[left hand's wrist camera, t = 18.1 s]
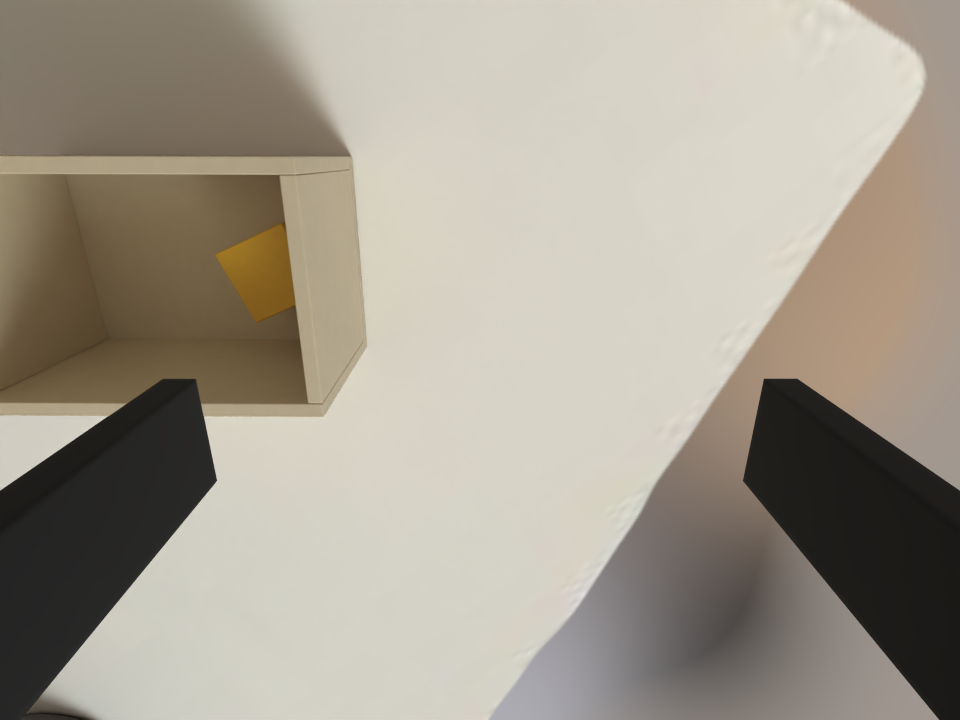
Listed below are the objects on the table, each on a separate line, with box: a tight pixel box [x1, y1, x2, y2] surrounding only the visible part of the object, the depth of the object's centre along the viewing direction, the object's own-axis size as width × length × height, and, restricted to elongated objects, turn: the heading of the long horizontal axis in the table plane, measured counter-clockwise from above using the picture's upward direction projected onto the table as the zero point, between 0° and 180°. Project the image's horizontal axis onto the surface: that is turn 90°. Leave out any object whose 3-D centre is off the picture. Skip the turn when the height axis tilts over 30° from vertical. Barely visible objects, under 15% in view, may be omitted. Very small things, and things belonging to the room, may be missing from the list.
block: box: [215, 222, 296, 323], centre depth 30 cm, size 4×4×4 cm
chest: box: [0, 155, 367, 417], centre depth 28 cm, size 17×12×10 cm
